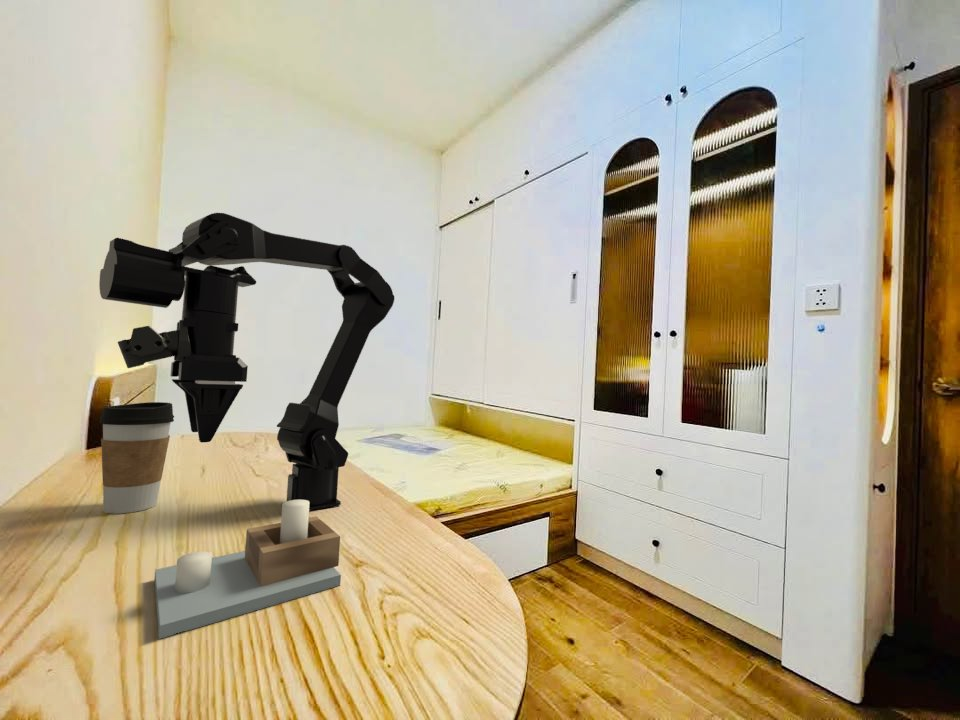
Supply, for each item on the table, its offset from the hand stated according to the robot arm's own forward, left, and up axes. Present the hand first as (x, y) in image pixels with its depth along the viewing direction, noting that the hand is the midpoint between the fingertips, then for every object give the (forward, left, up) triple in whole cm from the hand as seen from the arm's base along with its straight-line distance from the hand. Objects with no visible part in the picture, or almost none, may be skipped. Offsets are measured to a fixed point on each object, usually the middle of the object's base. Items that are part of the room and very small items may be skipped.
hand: (200, 436), depth 51 cm
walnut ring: (-7, +17, -11) cm, 21 cm away
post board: (-3, +17, -12) cm, 21 cm away
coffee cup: (+6, -16, -12) cm, 21 cm away
